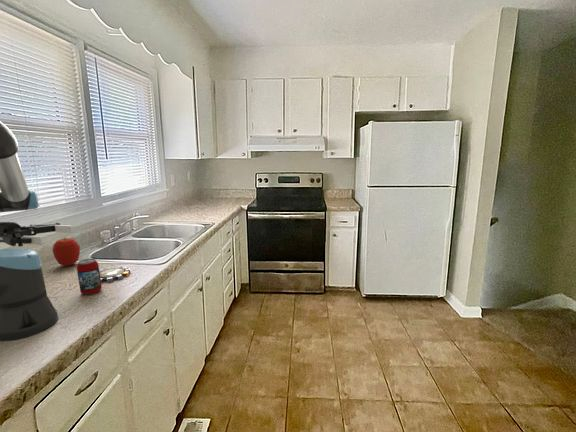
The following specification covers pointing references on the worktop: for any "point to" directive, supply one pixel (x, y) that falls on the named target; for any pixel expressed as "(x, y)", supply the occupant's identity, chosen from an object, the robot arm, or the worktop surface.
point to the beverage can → (89, 276)
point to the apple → (66, 251)
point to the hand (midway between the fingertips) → (57, 234)
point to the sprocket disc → (113, 273)
